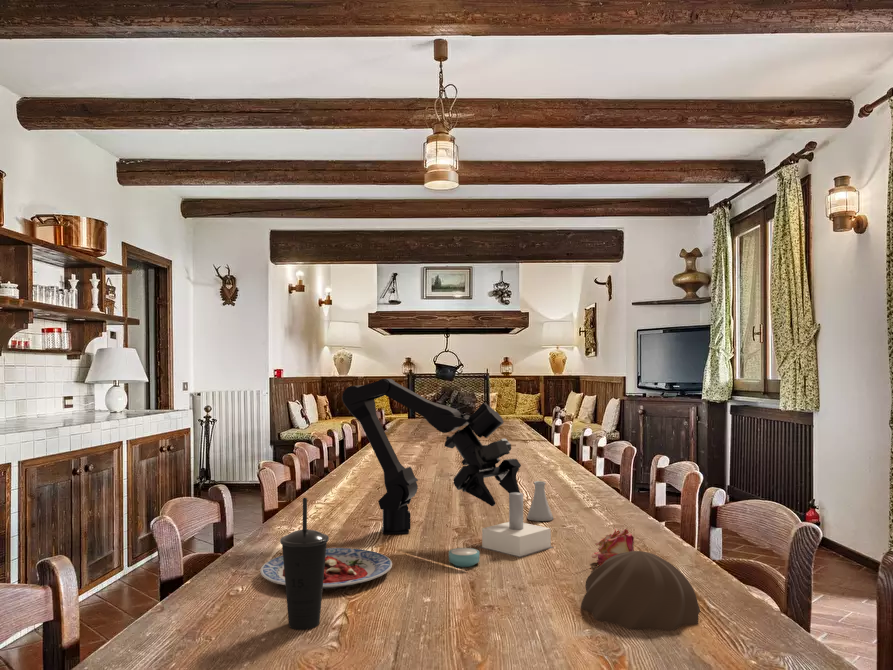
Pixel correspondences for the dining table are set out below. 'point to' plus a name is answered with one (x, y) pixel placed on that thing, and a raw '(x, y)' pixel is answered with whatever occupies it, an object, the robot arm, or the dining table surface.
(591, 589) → the decorative dome
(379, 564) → the ceramic plate
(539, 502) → the flask
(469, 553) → the teal ceramic bowl
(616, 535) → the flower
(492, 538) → the cream bowl cover
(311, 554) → the drinking cup
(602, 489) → the dining table surface
